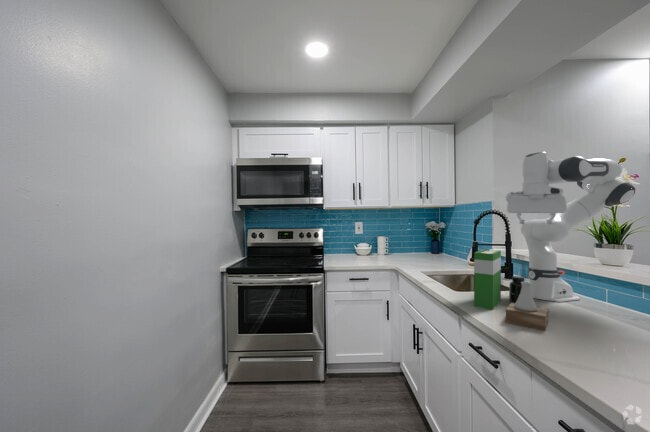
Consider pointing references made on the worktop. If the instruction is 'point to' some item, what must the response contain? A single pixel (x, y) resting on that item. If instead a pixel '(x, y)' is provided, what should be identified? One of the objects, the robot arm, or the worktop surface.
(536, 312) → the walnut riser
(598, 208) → the robot arm
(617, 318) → the worktop surface
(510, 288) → the supplement bottle
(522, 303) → the flask
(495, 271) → the hardback book
